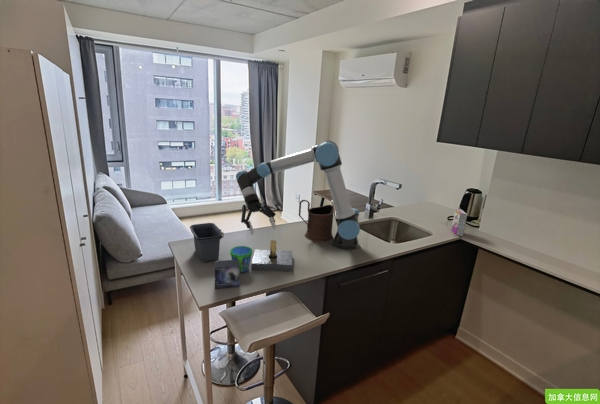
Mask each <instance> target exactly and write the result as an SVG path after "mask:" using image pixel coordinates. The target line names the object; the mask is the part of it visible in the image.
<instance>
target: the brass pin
mask: <svg viewBox="0 0 600 404" xmlns="http://www.w3.org/2000/svg"><path fill="white" fill-rule="evenodd" d="M269 245H270V249H269V250H270V259H276V250H277V241H276V240H274V239H272V240H270V244H269Z"/></svg>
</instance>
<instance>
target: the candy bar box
mask: <svg viewBox="0 0 600 404" xmlns="http://www.w3.org/2000/svg"><path fill="white" fill-rule="evenodd" d="M467 218H468V213H466V212H465V211H464V210H463V209H459V208H456V209H454V213H453V219H452V224H451V231H453V232H454V233H455V234H456V235H460V236H459V237H464V233H465V228H466V224H467V223H466V222H467ZM453 232H452V233H453ZM454 233H453V234H454ZM455 234H454V235H455ZM456 235H455V236H456Z"/></svg>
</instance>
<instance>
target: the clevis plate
mask: <svg viewBox="0 0 600 404" xmlns="http://www.w3.org/2000/svg"><path fill="white" fill-rule="evenodd" d="M251 259H252V260H251V262H250V265H251V266H250V267H251V268H250V269H251V271H273V272H274V271H275V272H276V271H277V272H278V271H279V272H293V250H283V249H282V250H279V249H278V250H277V249H276V259H270V249H258V248H257V249H254V253H253V256H252V258H251Z"/></svg>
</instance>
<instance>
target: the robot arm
mask: <svg viewBox="0 0 600 404" xmlns="http://www.w3.org/2000/svg"><path fill="white" fill-rule="evenodd" d="M339 152H340V150H339V147H338V144H337V143H336V142H334V141H332V140H324V141H322V142H321V143H318V144H316V145H313V146H312V147H311V148H308V149H306V150H302V151H299V152H295V153H291V154H289V155H285V156H281V157H279V158H275V159H272V160H269V161H265V162H261V163H259V164H257V165H256V166H255V167H253V168H251V169H250V170H241V171H238V172H237V173H236V175H235V179H236V182H237V185H238V187H239V189H240V192H241V194H242V197H243V199H244V202H245V204H242V206H241V210H242V211H241V220H240V222H241V224H244V225H246V228H247V229H248V231H249V232H250V235H254V233H255V229H254V227H253V225H252V222H251V221H250V218H251V215H252V213H258V212H259V213H262V214H263V215H265V216H266V217H268V218H269V219H268V220H269V223H270V226H271V227H272V230H276V229H277V226H276V220H275V216H276V215H277V213H275V212H274V211H273V209H271V207H270V206H269V205H268V204H267V203H266V201H263V202H260V198H259V196H258V194H257V190H256V189H255V186H254V184H256V183H258V182H260V181H261V180H263V179H264V178H267V177H268V176H269V175H272V174H275V173H279V172H282V171H286V170H289V169H292V168H296V167H301V166H304V165H307V164H310V163H318V165H319V169H320V171H321V172H323V173H324V176H325V179H326V182H327V185H328V189H329V193H330V196H331V200H332V202H333V207H334V211H335V212H336V214H334V215H335V216H334V218H335V223H336V226H337V231H336V233H335V235H334V236H333V239H332V240H333V241H332V243H333V245H334V246H335V247H337V248H340V249H341V250H344V249H345V250H355V249H356V248H358V247H359V239H358V236H359V234H360V231H361V228H360V222H359V216H360V210H359V209H357V208H354V207H352V205H351V202H350V198H349V194H348V191H347V187H346V185H345V180H344V177H343V173H342V170H341V166H342V164H343V163H342V158H341V156H340V153H339ZM247 209H248V212H247ZM246 213H247V215H246Z"/></svg>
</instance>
